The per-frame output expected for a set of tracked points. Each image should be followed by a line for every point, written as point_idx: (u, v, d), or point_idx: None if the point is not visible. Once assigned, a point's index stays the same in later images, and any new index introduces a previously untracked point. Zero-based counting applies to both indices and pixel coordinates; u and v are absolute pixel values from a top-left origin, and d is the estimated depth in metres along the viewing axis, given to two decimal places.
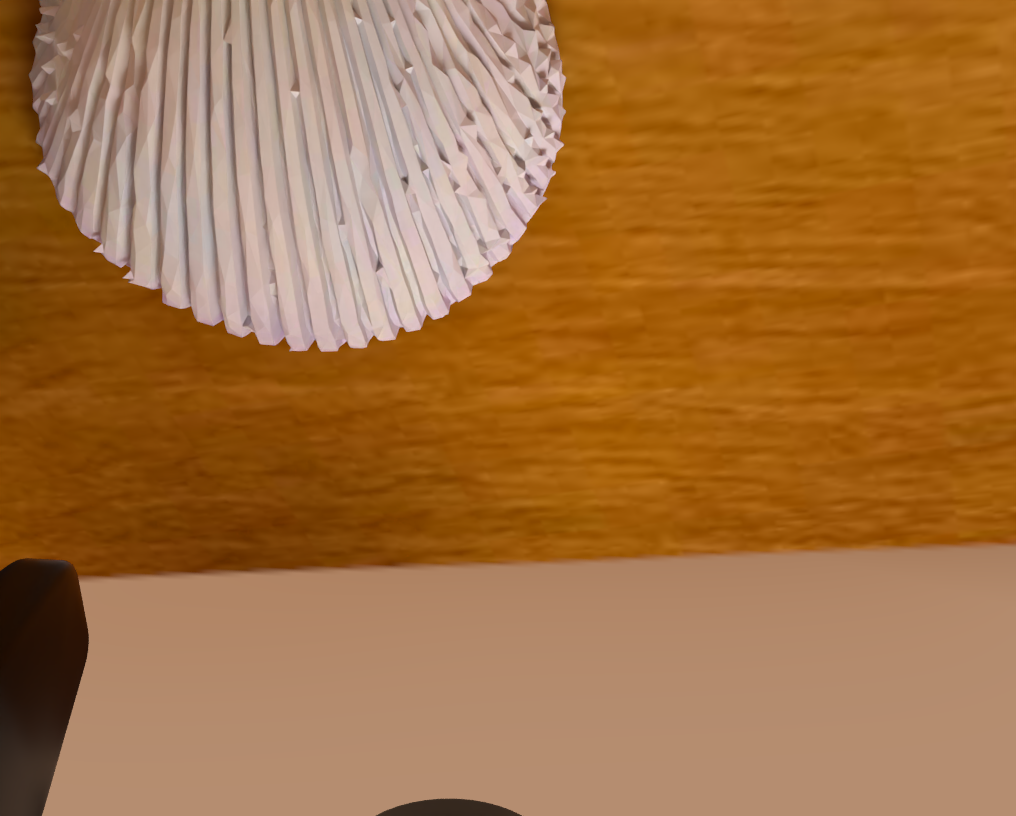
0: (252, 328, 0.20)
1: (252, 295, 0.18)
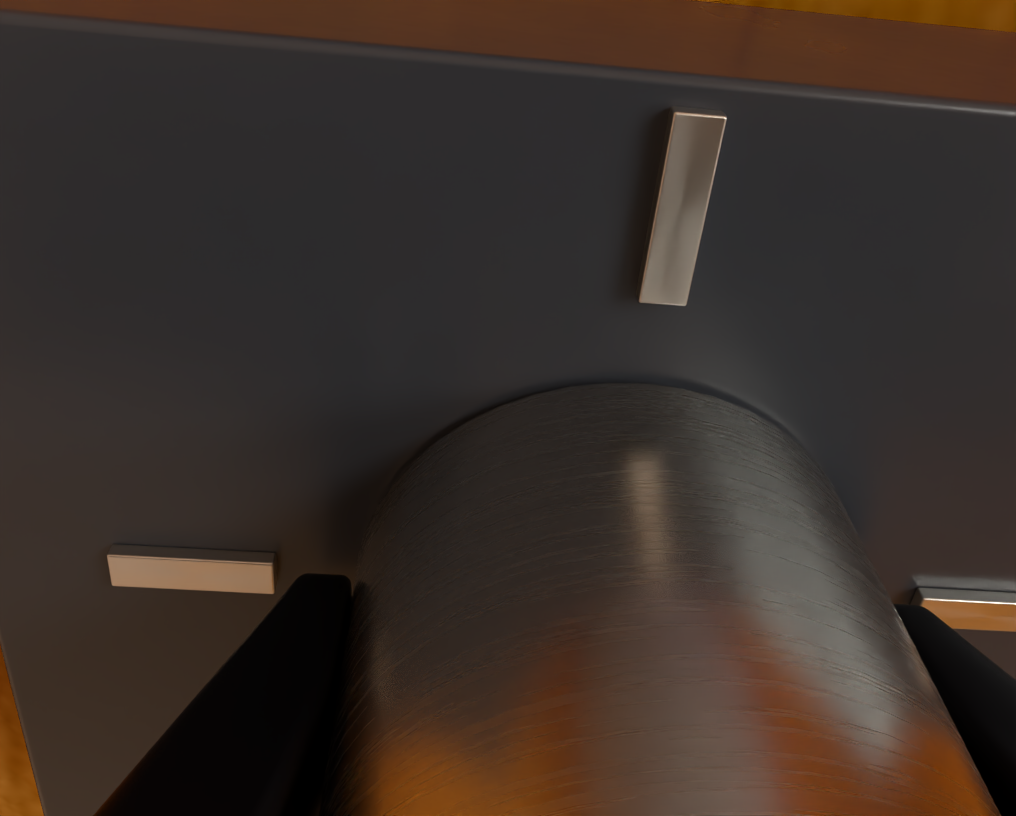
0: None
1: None
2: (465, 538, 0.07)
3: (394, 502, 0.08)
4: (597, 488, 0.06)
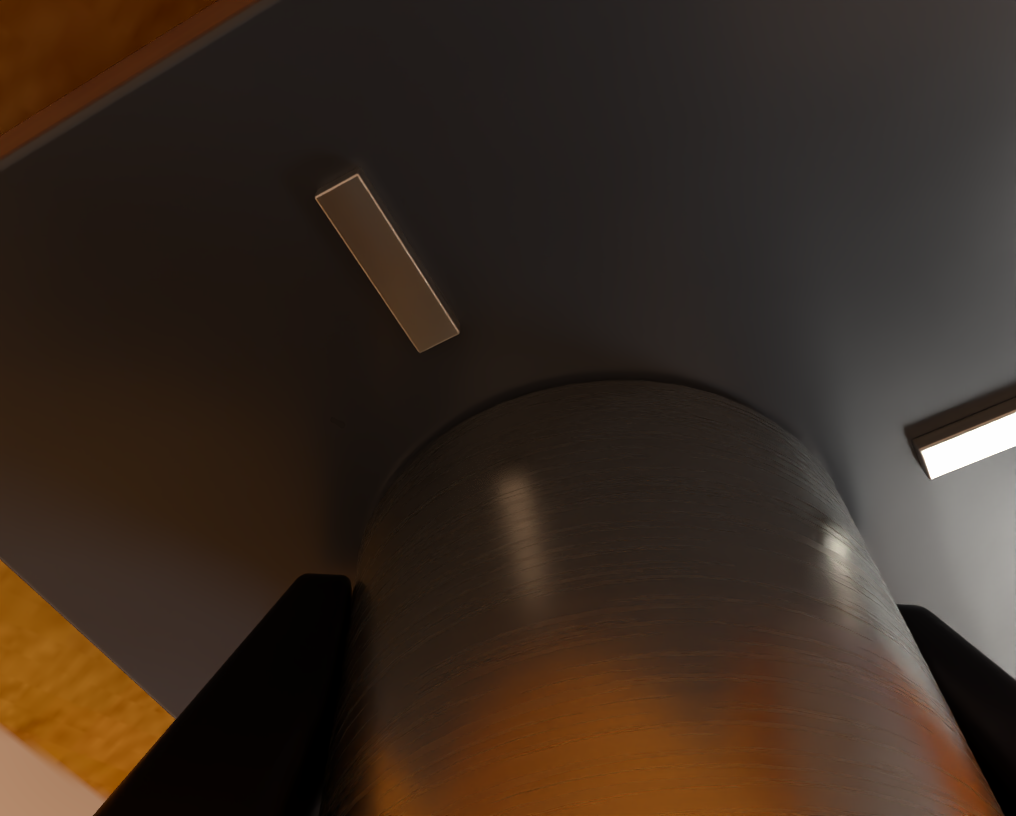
0: None
1: None
2: (465, 535, 0.06)
3: (394, 500, 0.08)
4: (598, 483, 0.06)
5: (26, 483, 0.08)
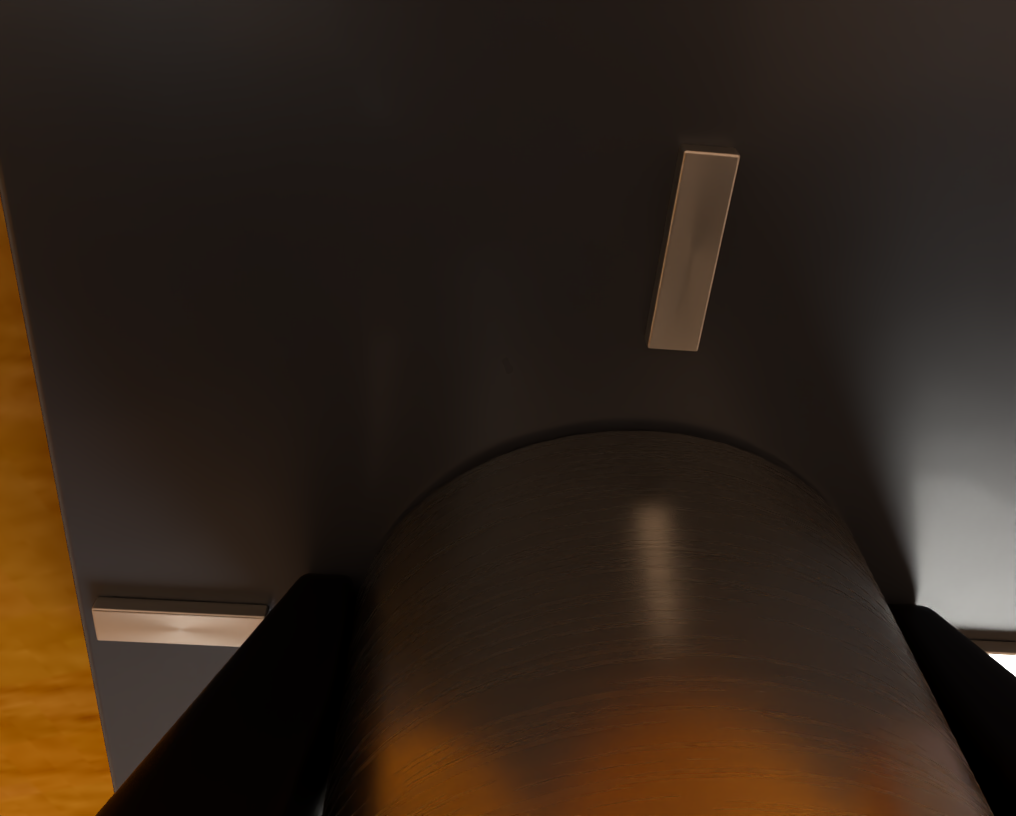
0: None
1: None
2: (461, 606, 0.06)
3: (388, 560, 0.07)
4: (597, 549, 0.06)
5: (130, 242, 0.06)
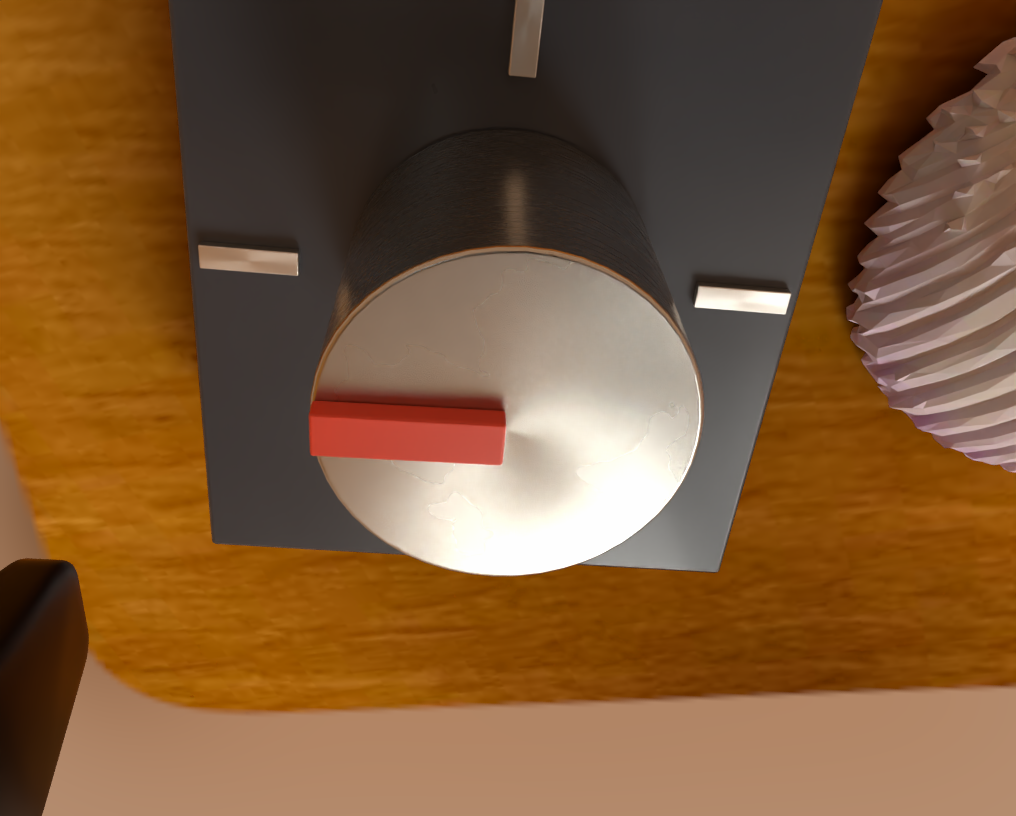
0: None
1: None
2: (405, 193, 0.12)
3: (368, 204, 0.13)
4: (475, 162, 0.12)
5: (233, 9, 0.12)
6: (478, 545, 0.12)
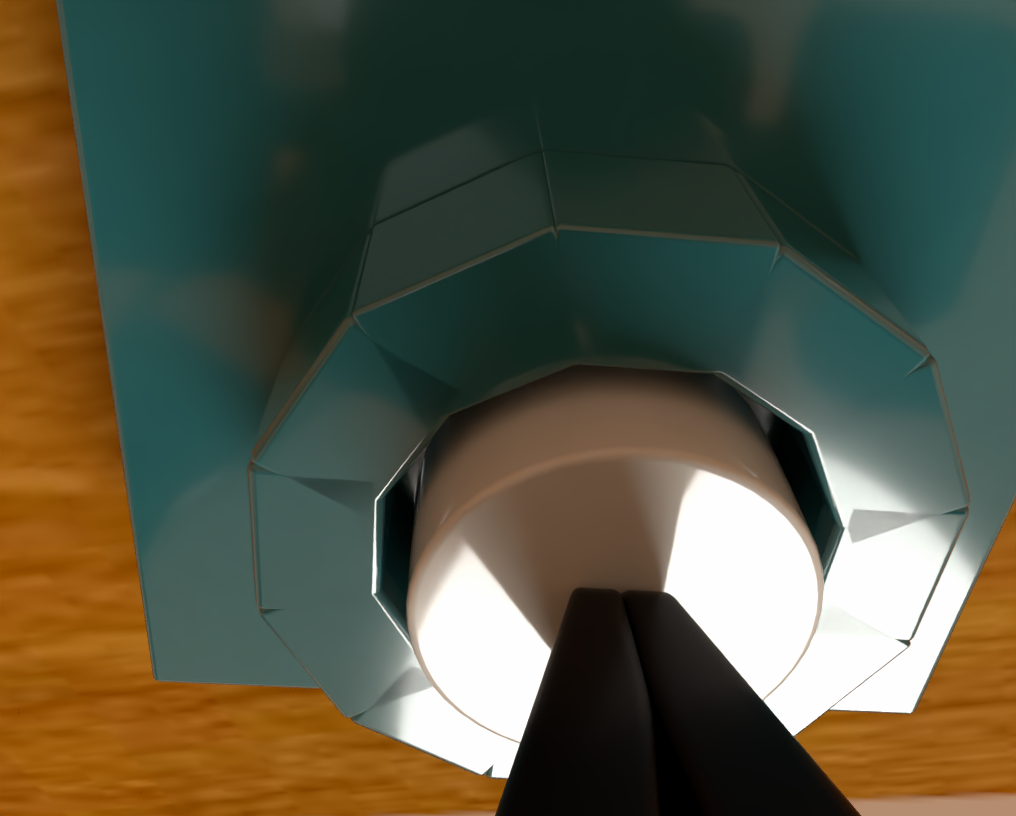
0: None
1: None
2: None
3: None
4: None
5: None
6: None
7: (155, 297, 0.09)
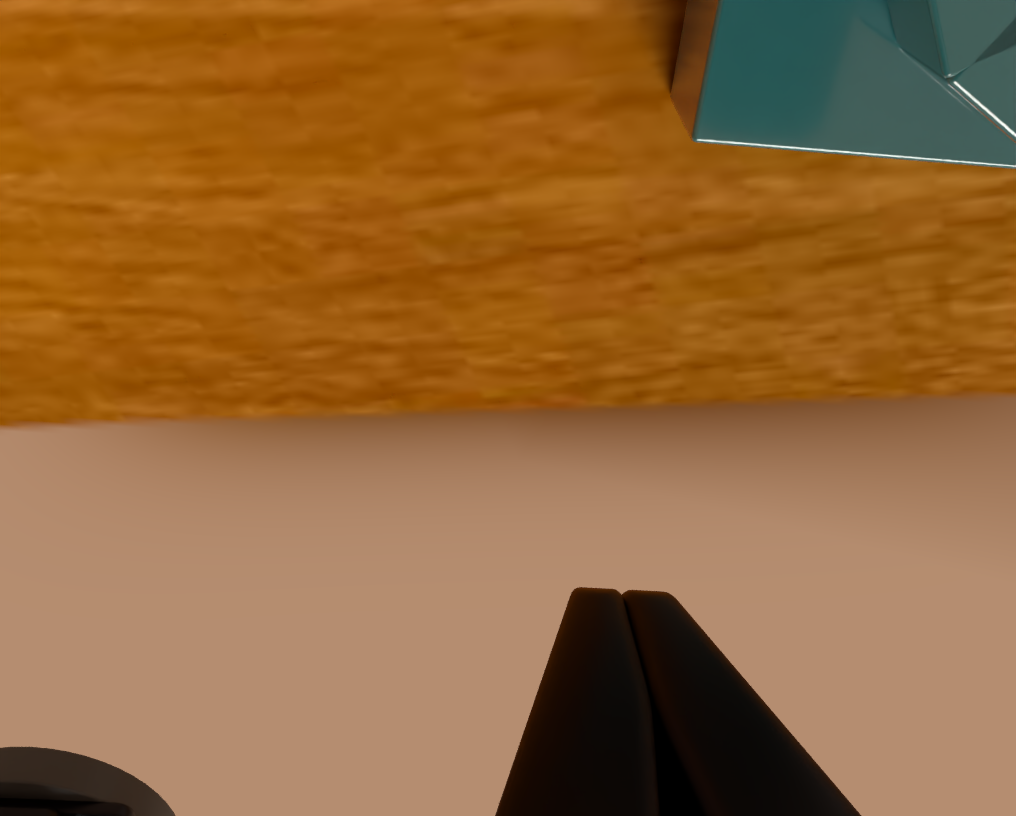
0: None
1: None
2: None
3: None
4: None
5: None
6: None
7: None
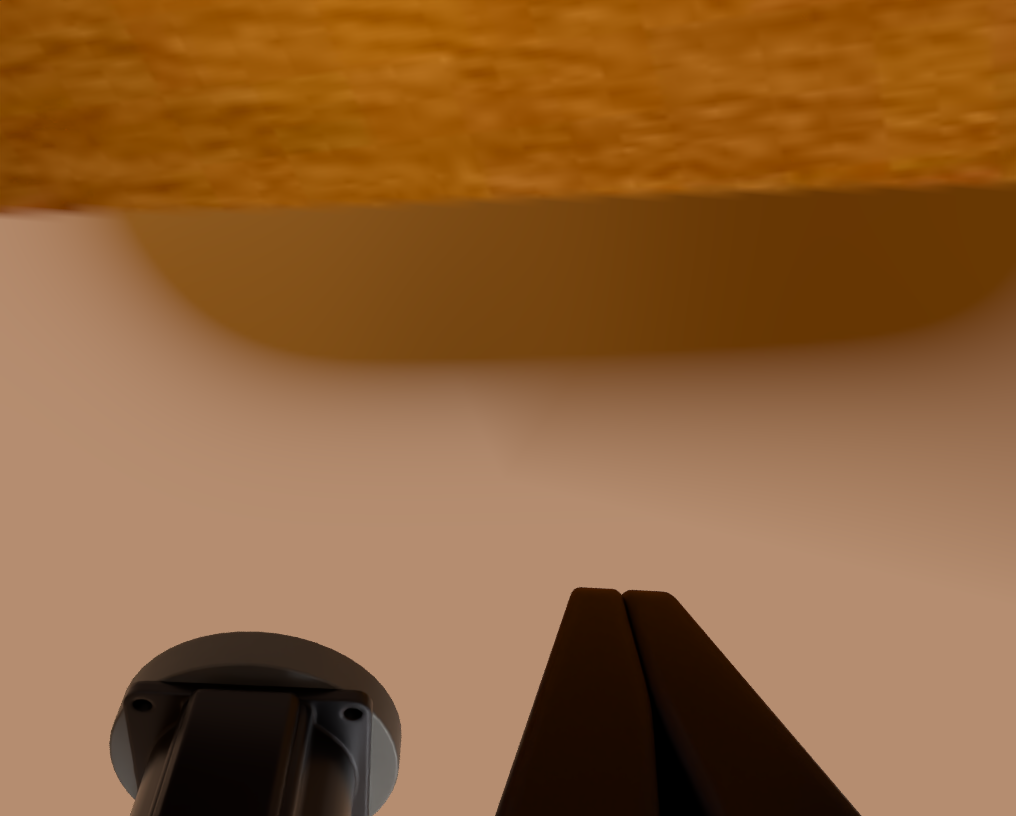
0: None
1: None
2: None
3: None
4: None
5: None
6: None
7: None
